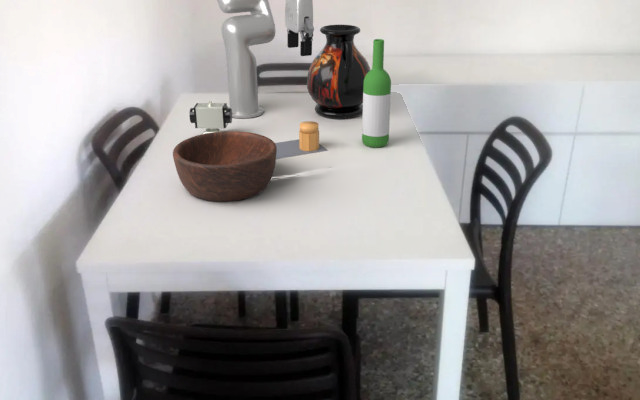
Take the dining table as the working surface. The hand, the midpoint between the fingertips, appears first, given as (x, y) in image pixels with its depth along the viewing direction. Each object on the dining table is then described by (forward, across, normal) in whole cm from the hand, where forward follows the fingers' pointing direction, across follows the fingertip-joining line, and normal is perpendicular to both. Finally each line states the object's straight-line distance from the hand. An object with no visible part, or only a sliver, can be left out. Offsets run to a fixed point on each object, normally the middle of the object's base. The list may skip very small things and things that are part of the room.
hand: (299, 51), depth 179 cm
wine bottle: (+26, +14, +19) cm, 34 cm away
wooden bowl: (+26, +25, -29) cm, 46 cm away
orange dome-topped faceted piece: (+24, +12, -1) cm, 27 cm away
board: (+26, +10, -6) cm, 28 cm away
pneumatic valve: (+27, -9, -24) cm, 37 cm away
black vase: (+27, -18, +22) cm, 40 cm away
